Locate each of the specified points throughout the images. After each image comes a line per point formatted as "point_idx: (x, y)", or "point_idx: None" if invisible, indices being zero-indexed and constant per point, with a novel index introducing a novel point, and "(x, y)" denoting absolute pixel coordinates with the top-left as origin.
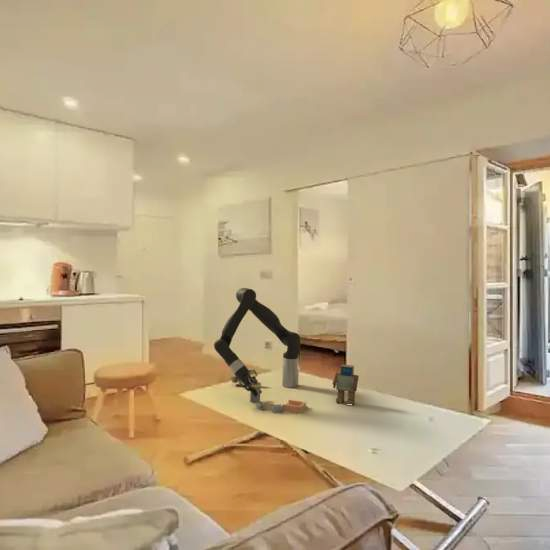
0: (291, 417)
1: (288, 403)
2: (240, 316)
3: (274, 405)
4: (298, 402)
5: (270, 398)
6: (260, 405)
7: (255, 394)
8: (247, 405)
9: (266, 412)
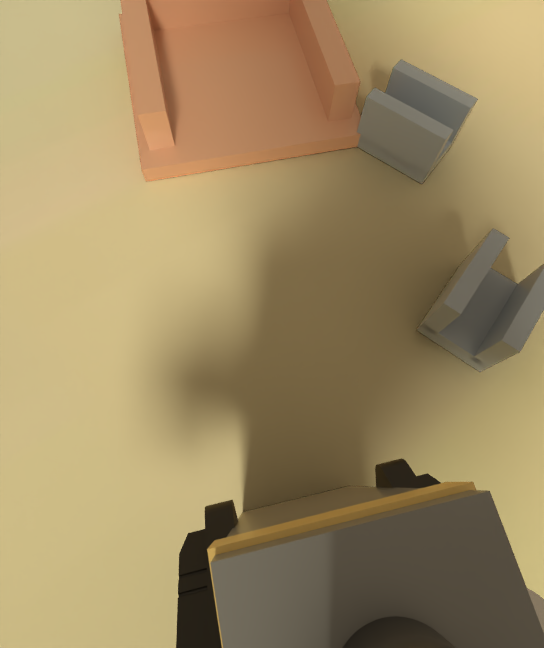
0: (432, 13)
1: (174, 140)
2: None
3: (442, 125)
4: (152, 33)
5: (41, 466)
6: (445, 339)
7: None
8: (527, 524)
9: (512, 201)
